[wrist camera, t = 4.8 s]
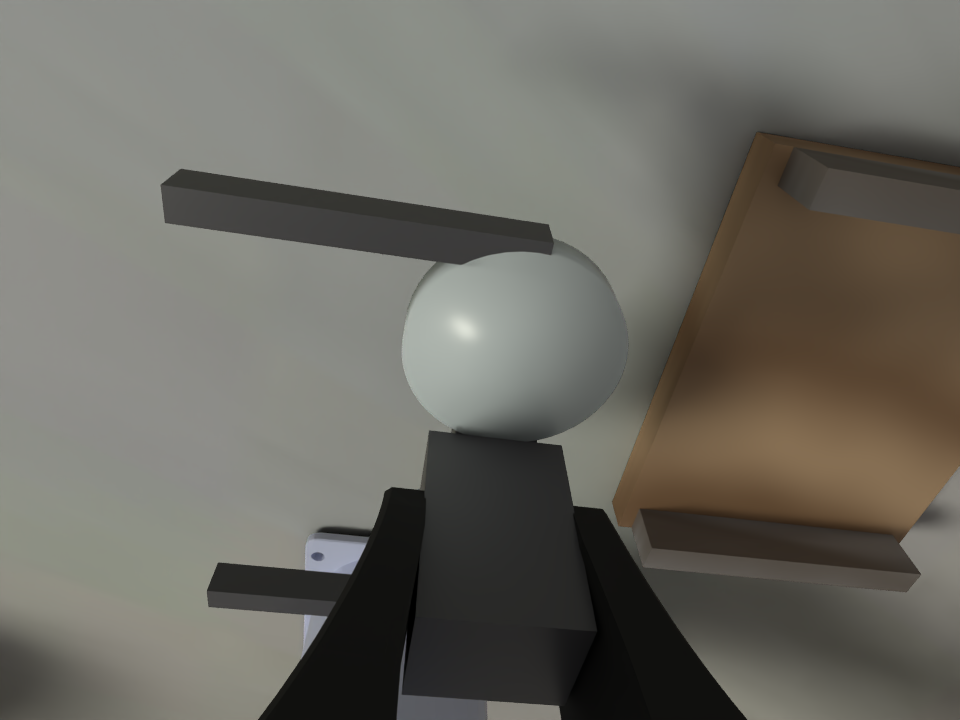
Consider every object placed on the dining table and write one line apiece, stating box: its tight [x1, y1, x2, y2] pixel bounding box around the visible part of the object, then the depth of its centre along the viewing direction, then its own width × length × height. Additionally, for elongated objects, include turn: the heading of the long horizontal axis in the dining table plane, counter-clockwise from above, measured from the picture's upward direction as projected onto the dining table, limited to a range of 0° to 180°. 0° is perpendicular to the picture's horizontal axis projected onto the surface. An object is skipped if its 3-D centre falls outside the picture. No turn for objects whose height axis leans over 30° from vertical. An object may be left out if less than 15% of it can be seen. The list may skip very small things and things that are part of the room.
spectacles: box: [161, 169, 628, 706], centre depth 11 cm, size 10×8×5 cm
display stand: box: [612, 132, 960, 592], centre depth 20 cm, size 14×11×3 cm
